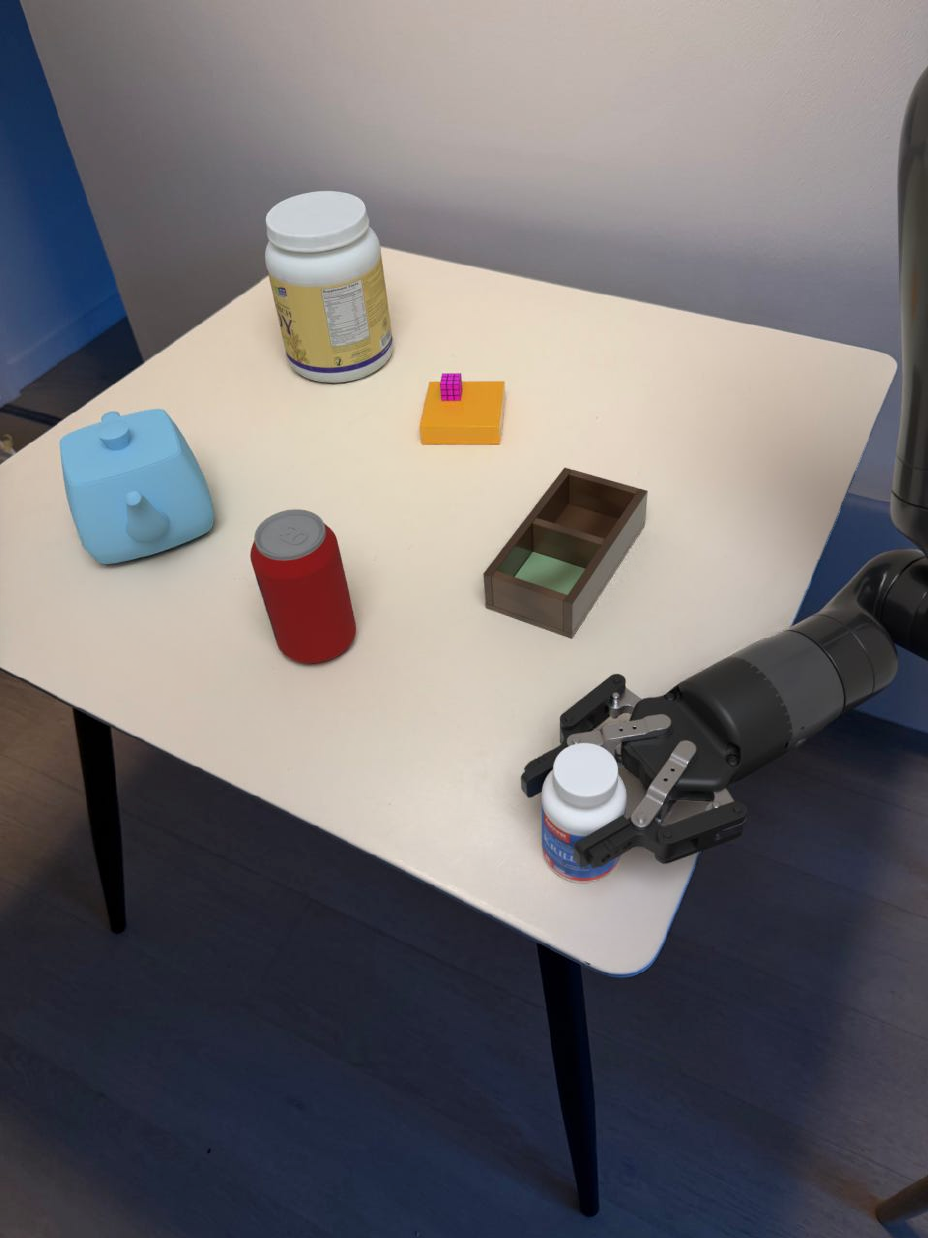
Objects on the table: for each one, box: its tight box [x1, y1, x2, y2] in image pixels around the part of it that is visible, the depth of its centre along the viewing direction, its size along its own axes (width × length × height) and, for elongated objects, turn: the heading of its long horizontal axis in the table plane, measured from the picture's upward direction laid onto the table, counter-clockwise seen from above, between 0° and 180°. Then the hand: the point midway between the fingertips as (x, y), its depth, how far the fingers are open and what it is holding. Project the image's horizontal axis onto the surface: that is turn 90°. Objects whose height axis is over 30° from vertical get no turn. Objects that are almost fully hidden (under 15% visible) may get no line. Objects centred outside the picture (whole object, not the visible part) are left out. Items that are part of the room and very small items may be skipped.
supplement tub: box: [264, 190, 394, 384], centre depth 107 cm, size 12×12×17 cm
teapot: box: [59, 408, 215, 565], centre depth 90 cm, size 12×18×12 cm
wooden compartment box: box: [482, 467, 649, 639], centre depth 85 cm, size 8×15×4 cm, turn 150°
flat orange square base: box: [419, 372, 507, 445], centre depth 101 cm, size 8×8×4 cm
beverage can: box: [249, 508, 357, 664], centre depth 79 cm, size 7×7×12 cm
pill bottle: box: [540, 743, 628, 884], centre depth 64 cm, size 6×5×10 cm
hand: (550, 820), depth 63 cm, fingers closed on pill bottle, 5 cm apart
